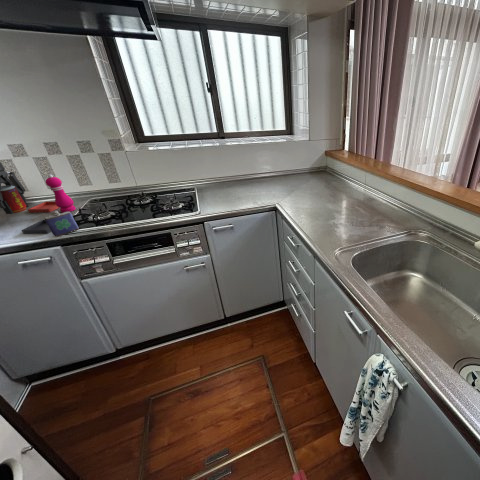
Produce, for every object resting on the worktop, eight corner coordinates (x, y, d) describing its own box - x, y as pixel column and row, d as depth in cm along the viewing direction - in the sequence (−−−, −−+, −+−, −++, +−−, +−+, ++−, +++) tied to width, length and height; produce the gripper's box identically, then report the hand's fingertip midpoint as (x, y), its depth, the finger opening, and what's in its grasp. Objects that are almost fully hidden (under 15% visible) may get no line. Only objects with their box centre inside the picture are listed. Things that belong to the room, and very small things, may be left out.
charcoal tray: (23, 233, 123) (21, 230, 122) (44, 223, 132) (42, 219, 131) (47, 233, 123) (45, 229, 122) (67, 222, 133) (65, 219, 132)
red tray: (29, 212, 144) (27, 209, 143) (47, 204, 153) (45, 201, 153) (50, 212, 144) (48, 209, 143) (66, 204, 154) (65, 201, 153)
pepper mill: (69, 213, 143) (50, 176, 132) (56, 213, 143) (36, 176, 133) (80, 207, 149) (62, 172, 139) (67, 207, 149) (49, 172, 139)
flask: (78, 227, 127) (67, 207, 122) (80, 229, 126) (69, 208, 120) (53, 235, 121) (40, 214, 116) (55, 237, 119) (42, 215, 114)
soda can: (16, 208, 132) (1, 184, 126) (32, 207, 133) (18, 184, 127) (4, 214, 126) (-13, 189, 120) (20, 213, 127) (5, 189, 121)
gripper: (-29, 169, 109) (5, 219, 121) (18, 157, 126) (43, 202, 138) (-47, 169, 109) (-12, 219, 121) (2, 157, 126) (29, 202, 138)
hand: (18, 210), depth 129 cm, fingers closed on soda can, 7 cm apart
